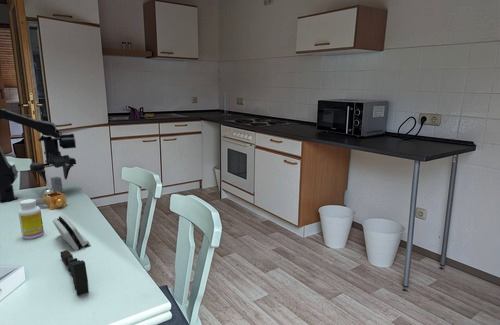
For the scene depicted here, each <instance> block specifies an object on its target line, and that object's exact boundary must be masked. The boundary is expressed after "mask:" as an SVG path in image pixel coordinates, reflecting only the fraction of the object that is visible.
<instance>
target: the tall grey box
mask: <svg viewBox="0 0 500 325" xmlns="http://www.w3.org/2000/svg"><path fill="white" fill-rule="evenodd" d="M62 182H63V181H62V178H61V177H60V176H54V177H50V183H51V188H52V189H53V192H57V191H58V192H61V193H63V194H64V189H63V184H62Z"/></svg>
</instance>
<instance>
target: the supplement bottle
mask: <svg viewBox="0 0 500 325" xmlns="http://www.w3.org/2000/svg"><path fill="white" fill-rule="evenodd" d="M36 200H37V199H36V198H28V199H24V200H21V201H20V202H19V203H20V208H19V210H18V212H17V213H18V219H19V225H20V231H21V237H22V238H23V239H25V240H32V239H36V238H39V237H41V236H43V235H44V233H45V230H44V223H43V217H42V209H40V207H38V206H36Z"/></svg>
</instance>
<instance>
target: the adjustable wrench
mask: <svg viewBox="0 0 500 325" xmlns="http://www.w3.org/2000/svg"><path fill="white" fill-rule="evenodd" d="M60 258H61V262H63V263H64V264H65V266H66V267H67V271H68V272H69V273H70V276H71V278H72V281H73V287H74V290H75V291H76V292H75V293H76V296H81V295H84V294H87V293H89V292H90V291H89V280H88V273H87V267H86V262H85V260H79V259H78V258H77V257H75V258H74V256H73V254H72V253H71V252H70V251H69V250H68V249H66V250H63V251H62V250H61V251H60Z"/></svg>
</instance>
